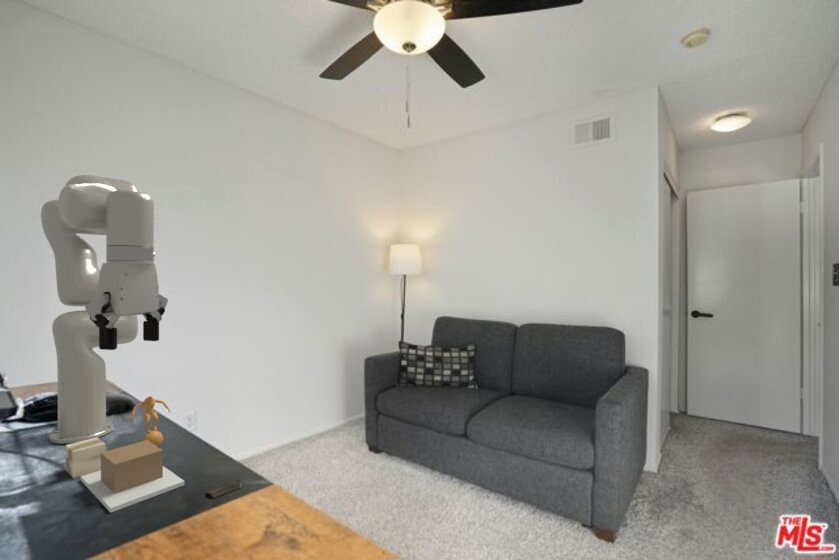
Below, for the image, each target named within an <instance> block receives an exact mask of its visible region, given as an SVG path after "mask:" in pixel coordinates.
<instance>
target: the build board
mask: <svg viewBox="0 0 839 560" xmlns="http://www.w3.org/2000/svg"><path fill="white" fill-rule="evenodd" d="M163 456H164V454H163V449H162V448H160V447H159V446H158V447H157V446H155V445H154V444H152V443H151V442H149V441H148V440H146V441H143V440H142V441H138V442H135V443H132V444H128V445H127V444H126V445H124V446H120V447H117V448H113V449H110V450H106V452H102V453H101V470H99V471H96V472H93V473H89V474H86V475H83V476H80V481H81V482H82V484H83V485H84V486H85V487H86V488H87V489H88V490H89V491H90V492H91V494H93V496H94V497H95V499H98V501H99V502H100V503H101V504H102V506H104V507H105V509H107V511H108V512H109V513H110V514H111V513H114V512H116V511H119V510H122V509H124V508H128V507H129V506H133V505H136V504H137V503H138V504H139V503H140V502H143V501H146V500H148V499H151V498H154V497H156V496H159V495H162V494H164V493H168V492H170V491H172V490H175V489H177V488H180V487H183V486H185V480H184V479H182V478H181V477H180V476H178V475H177V474H175V473H174V472H173V471H171V470H170V469H168V467H165V466H164V465H163V462H164V461H163V459H164V458H163Z"/></svg>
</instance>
